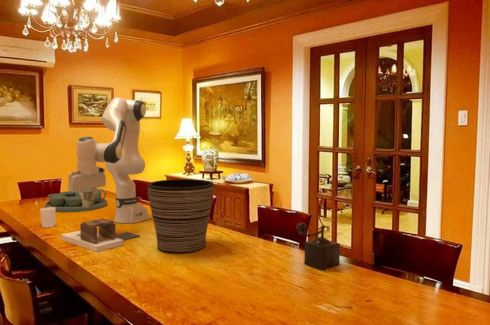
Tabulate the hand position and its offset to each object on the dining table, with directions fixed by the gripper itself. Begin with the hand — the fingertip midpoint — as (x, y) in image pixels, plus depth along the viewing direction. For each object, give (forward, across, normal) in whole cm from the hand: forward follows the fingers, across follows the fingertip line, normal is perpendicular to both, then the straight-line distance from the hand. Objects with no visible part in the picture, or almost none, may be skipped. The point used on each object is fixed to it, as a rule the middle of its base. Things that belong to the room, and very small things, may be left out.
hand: (87, 198), depth 202 cm
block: (+4, 0, 0) cm, 4 cm away
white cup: (+21, +7, +42) cm, 47 cm away
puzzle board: (+21, -3, -5) cm, 22 cm away
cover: (+18, -4, -11) cm, 22 cm away
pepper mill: (+21, +19, -112) cm, 115 cm away
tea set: (+22, +52, +76) cm, 94 cm away
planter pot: (+21, +13, -48) cm, 54 cm away
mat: (+21, +12, -12) cm, 27 cm away
